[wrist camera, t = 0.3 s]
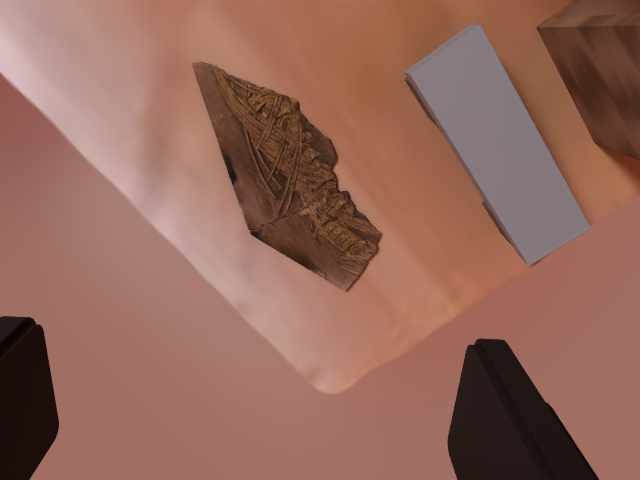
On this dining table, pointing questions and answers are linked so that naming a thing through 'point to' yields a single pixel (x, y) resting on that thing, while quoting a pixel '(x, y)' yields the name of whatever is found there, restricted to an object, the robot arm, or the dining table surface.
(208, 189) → the dining table surface
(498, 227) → the support blocks
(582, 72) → the shelf unit
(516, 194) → the shelf board
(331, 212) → the wooden fragment
